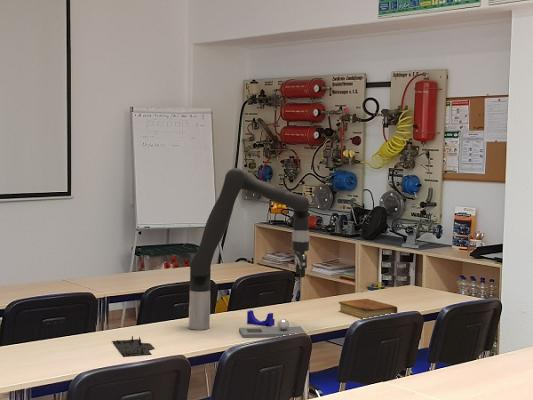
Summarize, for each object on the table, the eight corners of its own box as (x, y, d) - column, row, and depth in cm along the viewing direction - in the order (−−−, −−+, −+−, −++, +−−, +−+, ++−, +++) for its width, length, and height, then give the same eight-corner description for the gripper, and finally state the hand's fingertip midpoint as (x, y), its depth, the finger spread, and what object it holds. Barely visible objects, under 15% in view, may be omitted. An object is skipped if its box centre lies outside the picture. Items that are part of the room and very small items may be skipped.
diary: (397, 317, 407) (397, 306, 406) (367, 321, 397) (367, 309, 396) (367, 309, 426) (368, 298, 426) (338, 312, 416) (338, 301, 416)
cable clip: (274, 325, 385) (274, 312, 384) (270, 327, 381) (270, 314, 380) (251, 322, 390) (251, 309, 390) (247, 324, 386) (247, 311, 386)
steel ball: (278, 331, 365) (279, 320, 365) (276, 328, 370) (277, 317, 370) (290, 331, 366) (290, 320, 366) (287, 328, 371) (288, 317, 370)
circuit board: (111, 343, 348) (111, 335, 348) (145, 340, 353) (145, 333, 353) (123, 358, 325) (123, 350, 324) (159, 355, 330) (159, 347, 329)
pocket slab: (242, 337, 359) (242, 334, 359) (238, 330, 371) (238, 327, 371) (306, 336, 363) (306, 333, 363) (300, 329, 376) (300, 326, 376)
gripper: (289, 238, 380) (288, 273, 381) (296, 242, 366) (295, 278, 367) (305, 237, 381) (304, 273, 382) (312, 241, 367) (312, 278, 369)
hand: (300, 275), depth 375 cm, fingers open, 8 cm apart
